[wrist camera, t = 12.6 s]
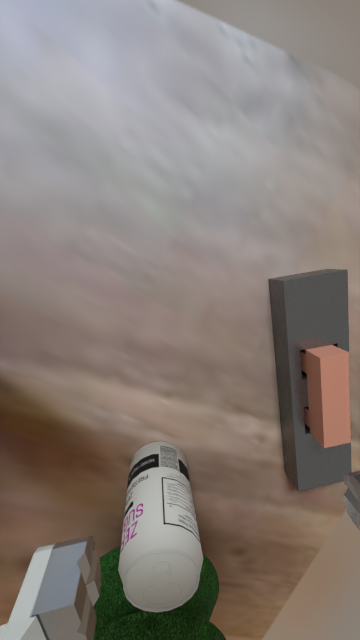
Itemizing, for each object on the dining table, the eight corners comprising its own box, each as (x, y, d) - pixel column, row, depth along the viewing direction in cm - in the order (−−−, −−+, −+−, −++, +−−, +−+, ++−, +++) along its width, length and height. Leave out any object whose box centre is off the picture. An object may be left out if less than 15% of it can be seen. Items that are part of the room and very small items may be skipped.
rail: (268, 279, 35) (283, 280, 31) (325, 269, 35) (347, 269, 32) (284, 470, 41) (298, 491, 37) (332, 459, 42) (351, 479, 38)
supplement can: (186, 484, 40) (206, 610, 25) (131, 489, 39) (119, 623, 25) (185, 436, 38) (206, 541, 24) (128, 441, 37) (112, 553, 23)
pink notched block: (289, 340, 37) (320, 357, 30) (312, 336, 37) (348, 352, 30) (294, 416, 40) (324, 448, 33) (316, 412, 40) (350, 442, 33)
